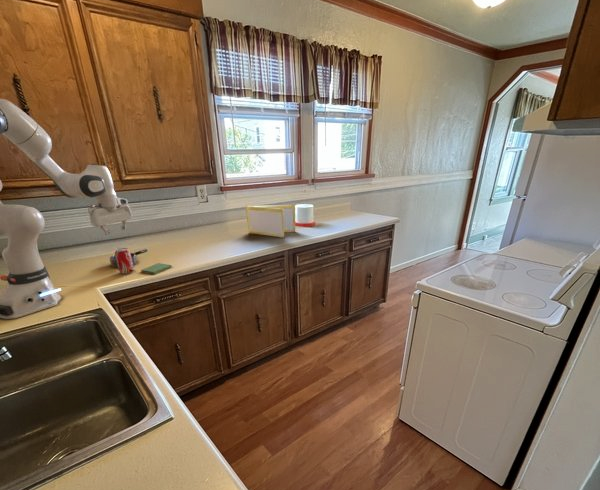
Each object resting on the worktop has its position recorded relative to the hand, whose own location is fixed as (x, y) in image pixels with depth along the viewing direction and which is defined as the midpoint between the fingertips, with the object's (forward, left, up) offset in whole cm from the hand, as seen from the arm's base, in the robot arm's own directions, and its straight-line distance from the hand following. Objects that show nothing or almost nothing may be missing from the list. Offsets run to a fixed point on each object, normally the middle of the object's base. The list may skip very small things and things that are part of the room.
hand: (116, 232), depth 158 cm
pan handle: (+21, +12, -18) cm, 30 cm away
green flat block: (+9, -11, -21) cm, 25 cm away
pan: (+9, +12, -21) cm, 26 cm away
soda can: (0, 0, -21) cm, 21 cm away
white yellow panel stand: (+99, -32, -21) cm, 106 cm away
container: (+141, -39, -21) cm, 148 cm away
